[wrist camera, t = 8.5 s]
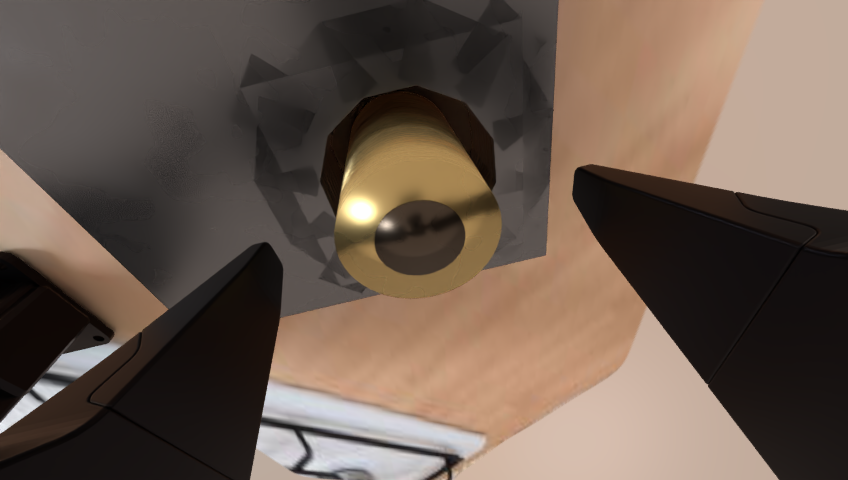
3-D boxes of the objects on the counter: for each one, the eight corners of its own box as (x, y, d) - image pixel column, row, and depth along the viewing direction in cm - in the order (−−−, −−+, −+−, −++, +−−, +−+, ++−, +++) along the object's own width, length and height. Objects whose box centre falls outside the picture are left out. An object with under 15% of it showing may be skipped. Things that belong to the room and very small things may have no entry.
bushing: (367, 200, 15) (364, 313, 10) (334, 105, 13) (304, 187, 7) (456, 178, 15) (505, 280, 10) (442, 79, 13) (497, 141, 7)
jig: (226, 283, 17) (198, 337, 14) (-159, -189, 8) (-467, -299, 5) (518, 213, 17) (546, 255, 14) (507, -364, 7) (589, -589, 5)
